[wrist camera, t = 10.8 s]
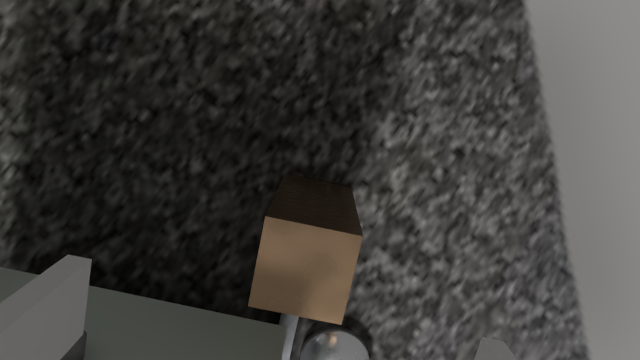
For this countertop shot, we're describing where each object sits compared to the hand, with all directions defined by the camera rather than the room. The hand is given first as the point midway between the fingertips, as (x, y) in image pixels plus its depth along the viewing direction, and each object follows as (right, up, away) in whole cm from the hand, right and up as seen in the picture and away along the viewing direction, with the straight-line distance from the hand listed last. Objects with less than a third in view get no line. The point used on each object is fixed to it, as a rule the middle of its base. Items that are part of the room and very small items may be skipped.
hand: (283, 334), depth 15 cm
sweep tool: (0, -2, +17) cm, 17 cm away
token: (+2, -8, +18) cm, 20 cm away
